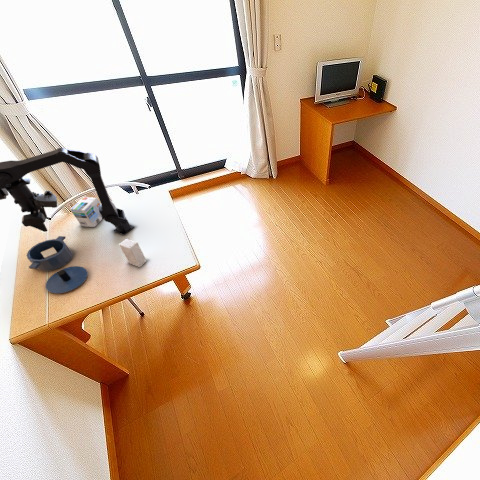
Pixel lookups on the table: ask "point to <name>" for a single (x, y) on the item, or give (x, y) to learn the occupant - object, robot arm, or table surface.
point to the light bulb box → (87, 211)
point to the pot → (51, 262)
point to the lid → (66, 279)
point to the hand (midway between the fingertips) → (46, 224)
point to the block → (49, 253)
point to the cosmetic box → (132, 252)
